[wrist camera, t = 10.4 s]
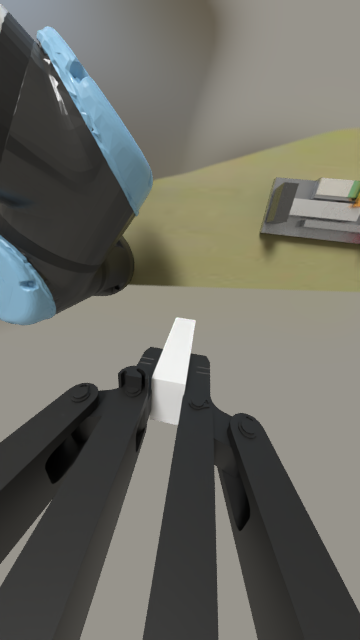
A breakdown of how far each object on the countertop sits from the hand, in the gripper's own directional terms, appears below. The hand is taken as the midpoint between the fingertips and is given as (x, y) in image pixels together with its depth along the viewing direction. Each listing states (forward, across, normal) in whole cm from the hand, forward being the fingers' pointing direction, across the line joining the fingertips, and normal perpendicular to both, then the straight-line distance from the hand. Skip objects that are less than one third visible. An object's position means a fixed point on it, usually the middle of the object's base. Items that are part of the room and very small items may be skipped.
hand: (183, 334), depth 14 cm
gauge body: (+26, +20, +13) cm, 36 cm away
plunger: (+25, +17, +14) cm, 33 cm away
